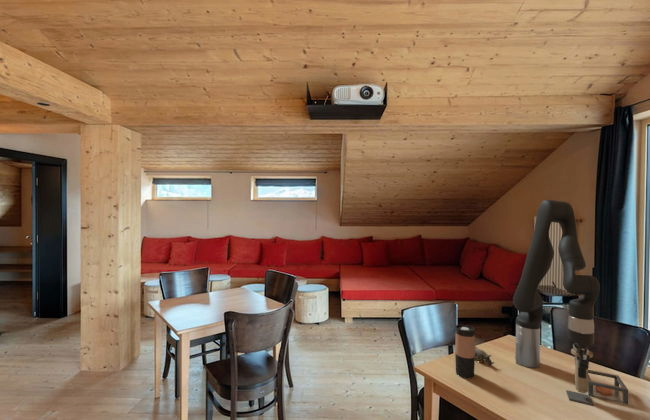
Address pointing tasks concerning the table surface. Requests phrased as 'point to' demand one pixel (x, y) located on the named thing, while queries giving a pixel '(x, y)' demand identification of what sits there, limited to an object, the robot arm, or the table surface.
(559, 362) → the table surface
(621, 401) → the guard frame
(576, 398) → the rubber mat
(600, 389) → the button
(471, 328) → the travel mug
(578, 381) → the handle
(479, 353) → the rhino figurine
